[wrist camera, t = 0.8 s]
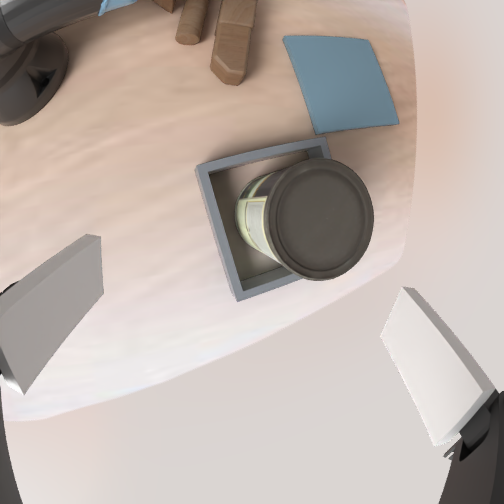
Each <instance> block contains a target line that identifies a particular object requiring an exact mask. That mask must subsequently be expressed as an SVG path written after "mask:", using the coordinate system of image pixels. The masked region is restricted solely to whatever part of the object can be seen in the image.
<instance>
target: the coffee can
mask: <svg viewBox="0 0 504 504" xmlns="http://www.w3.org/2000/svg"><path fill="white" fill-rule="evenodd" d="M235 223H236V227H237V229H238V232H239V234H240V235H241V237H242V238H243V240H244V241H245V242H246V243H247V244H248V245H249V246H251V247H252V248H254V249H256V250H258V251H260V252H262V253H263V254H265V255H267V256H268V257H270V258H272V259H274V260H275V261H277V262H278V263H280V264H282V265H283V266H284V267H285V268H286V269H287V270H289V271H290V272H292V273H293V274H295V275H297V276H299V277H301V278H304V279H307V280H313V281H324V280H330V279H334V278H336V277H338V276H340V275H342V274H344V273H346V272H347V271H349V270H350V269H351V268H352V267H354V266H355V265H356V264H357V262H358V261H359V260H360V259H361V258H362V256H363V255H364V253H365V251H366V249H367V247H368V245H369V242H370V239H371V236H372V231H373V224H374V212H373V206H372V202H371V198H370V195H369V193H368V190H367V188H366V186H365V185H364V183H363V181H362V180H361V179H360V177H359V176H358V175H357V174H356V173H355V172H354V171H353V170H351V169H350V168H349V167H347V166H346V165H344V164H342V163H340V162H338V161H335V160H332V159H327V158H313V159H308V160H304V161H301V162H299V163H297V164H295V165H293V166H291V167H288V168H285V169H282V170H280V171H277V172H273V173H271V174H268V175H264V176H260V177H258V178H256V179H254V180H252V181H251V182H250V183H248V184H247V185H246V186H245V187H244V189H243V190H242V191H241V193H240V195H239V196H238V199H237V201H236V205H235Z"/></svg>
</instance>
